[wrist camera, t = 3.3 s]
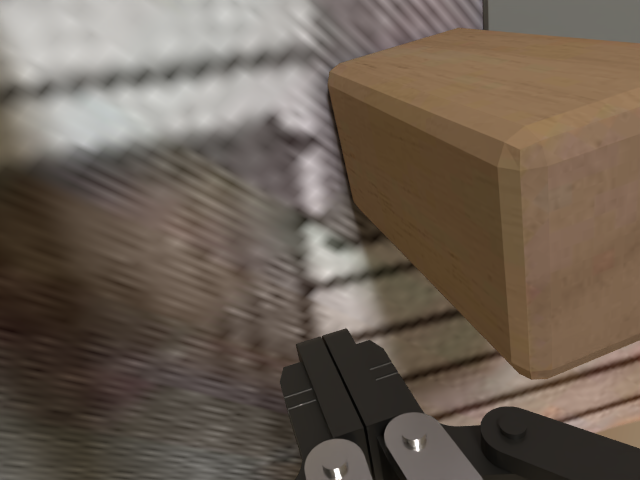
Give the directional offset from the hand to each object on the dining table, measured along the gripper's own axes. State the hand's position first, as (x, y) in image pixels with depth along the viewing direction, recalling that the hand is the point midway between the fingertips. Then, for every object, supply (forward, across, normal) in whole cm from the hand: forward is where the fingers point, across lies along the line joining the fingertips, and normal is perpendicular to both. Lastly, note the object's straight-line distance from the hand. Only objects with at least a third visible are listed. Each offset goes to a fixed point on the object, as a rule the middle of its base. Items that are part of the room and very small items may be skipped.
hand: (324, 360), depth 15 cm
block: (+21, -12, 0) cm, 24 cm away
